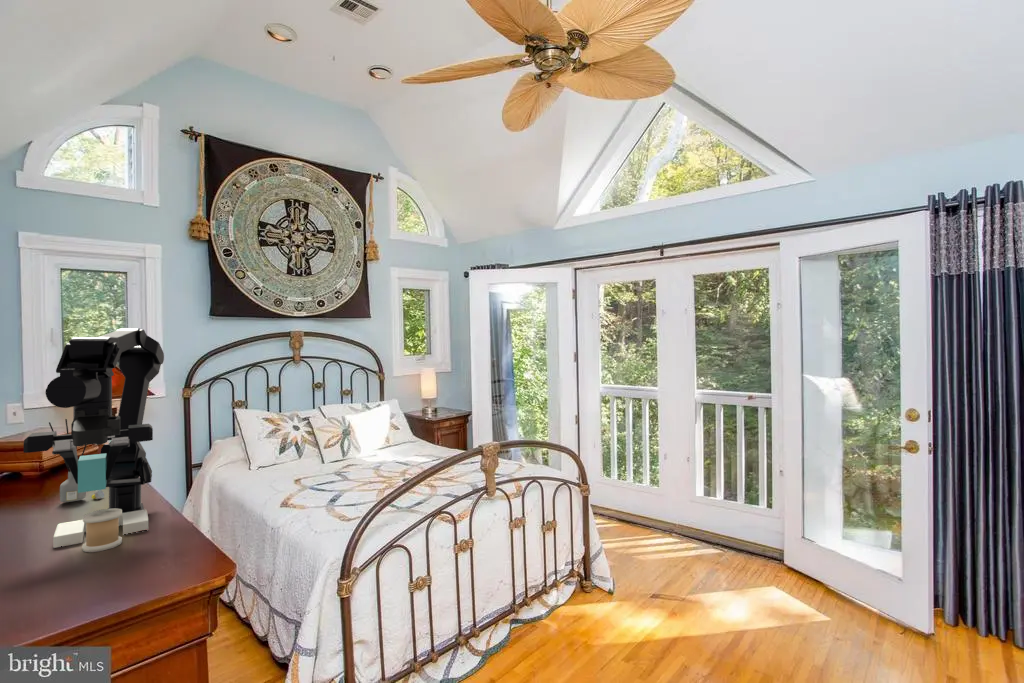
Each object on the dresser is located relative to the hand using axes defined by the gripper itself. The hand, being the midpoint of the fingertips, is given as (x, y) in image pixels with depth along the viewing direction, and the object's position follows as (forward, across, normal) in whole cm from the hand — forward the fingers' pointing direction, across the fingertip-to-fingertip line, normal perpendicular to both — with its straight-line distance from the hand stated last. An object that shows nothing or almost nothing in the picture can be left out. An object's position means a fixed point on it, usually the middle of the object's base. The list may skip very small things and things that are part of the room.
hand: (92, 481), depth 96 cm
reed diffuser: (+12, -5, +32) cm, 35 cm away
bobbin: (+11, +2, -7) cm, 13 cm away
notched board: (+11, +2, +2) cm, 11 cm away
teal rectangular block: (+1, 0, 0) cm, 1 cm away
